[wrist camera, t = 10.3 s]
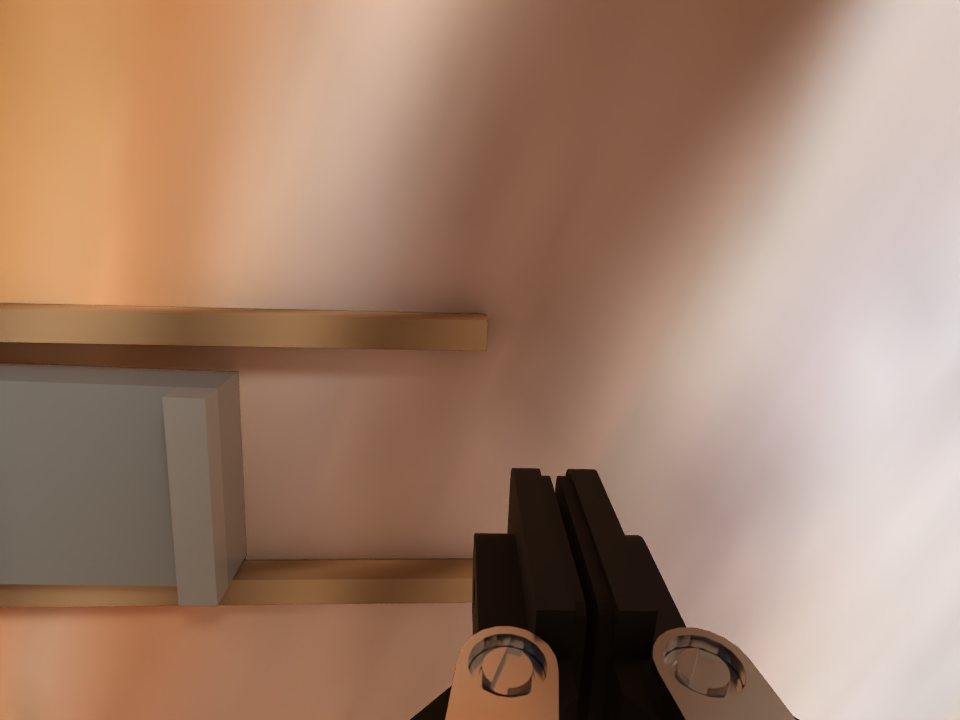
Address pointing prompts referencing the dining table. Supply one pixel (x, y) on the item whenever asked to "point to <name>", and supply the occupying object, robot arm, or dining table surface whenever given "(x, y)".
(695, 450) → the dining table surface
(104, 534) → the slate gray sliding drawer
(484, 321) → the guide rails
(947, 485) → the dining table surface
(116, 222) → the dining table surface
